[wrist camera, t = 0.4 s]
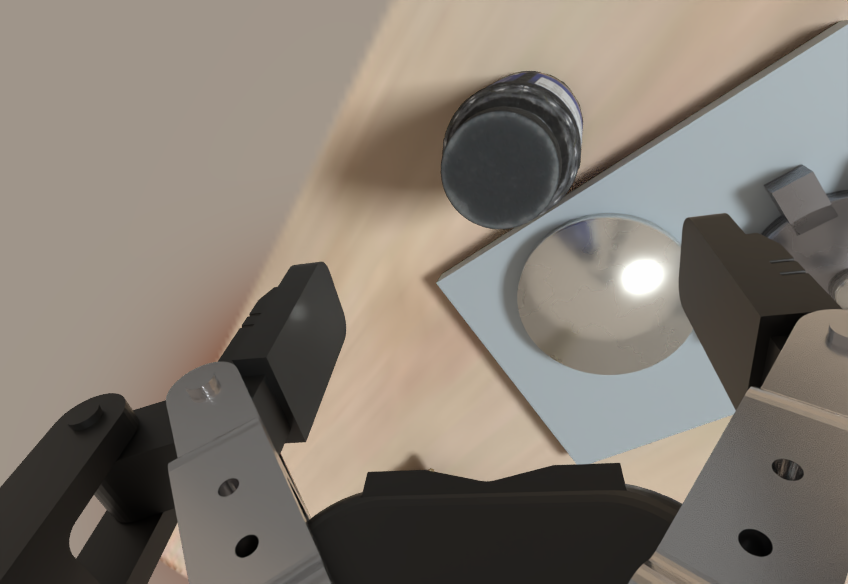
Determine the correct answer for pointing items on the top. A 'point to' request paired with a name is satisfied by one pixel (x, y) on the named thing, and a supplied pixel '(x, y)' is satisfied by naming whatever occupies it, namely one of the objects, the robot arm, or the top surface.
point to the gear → (812, 228)
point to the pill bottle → (512, 150)
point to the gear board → (668, 208)
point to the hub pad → (604, 294)
